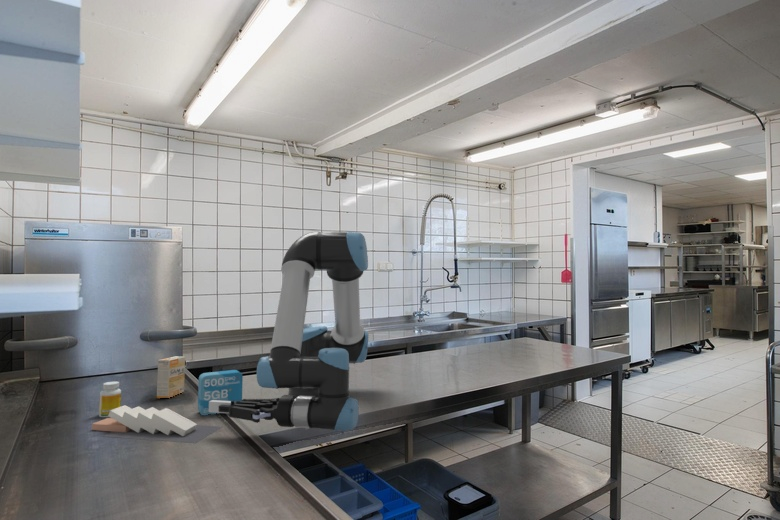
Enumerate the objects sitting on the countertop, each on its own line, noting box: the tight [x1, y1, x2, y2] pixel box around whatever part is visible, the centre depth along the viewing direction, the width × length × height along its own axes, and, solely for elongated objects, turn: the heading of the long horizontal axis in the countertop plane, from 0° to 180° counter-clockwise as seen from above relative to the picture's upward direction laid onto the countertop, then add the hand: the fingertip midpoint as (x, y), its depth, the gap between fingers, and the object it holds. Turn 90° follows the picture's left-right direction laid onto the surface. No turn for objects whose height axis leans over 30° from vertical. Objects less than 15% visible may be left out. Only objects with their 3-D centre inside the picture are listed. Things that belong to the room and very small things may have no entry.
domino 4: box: [137, 406, 174, 435], centre depth 112 cm, size 2×5×10 cm
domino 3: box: [123, 406, 159, 434], centre depth 113 cm, size 2×5×10 cm
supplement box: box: [156, 355, 186, 399], centre depth 148 cm, size 8×5×13 cm, turn 168°
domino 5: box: [151, 407, 198, 436], centre depth 112 cm, size 2×5×10 cm
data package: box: [197, 369, 244, 416], centre depth 130 cm, size 12×4×12 cm, turn 123°
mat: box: [102, 424, 223, 444], centre depth 112 cm, size 26×12×1 cm, turn 81°
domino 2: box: [108, 405, 145, 433], centre depth 114 cm, size 2×5×10 cm
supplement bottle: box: [98, 381, 122, 418], centre depth 126 cm, size 5×5×10 cm
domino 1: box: [91, 417, 132, 432], centre depth 114 cm, size 2×5×10 cm
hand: (210, 406), depth 110 cm, fingers closed
